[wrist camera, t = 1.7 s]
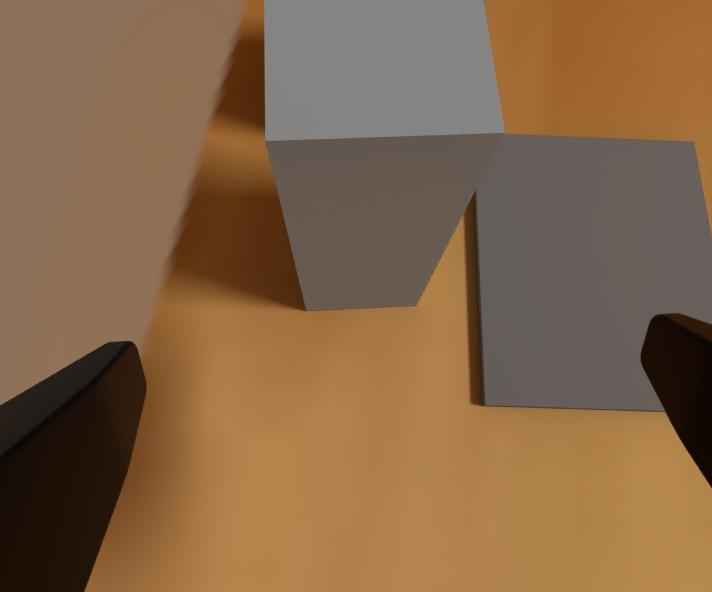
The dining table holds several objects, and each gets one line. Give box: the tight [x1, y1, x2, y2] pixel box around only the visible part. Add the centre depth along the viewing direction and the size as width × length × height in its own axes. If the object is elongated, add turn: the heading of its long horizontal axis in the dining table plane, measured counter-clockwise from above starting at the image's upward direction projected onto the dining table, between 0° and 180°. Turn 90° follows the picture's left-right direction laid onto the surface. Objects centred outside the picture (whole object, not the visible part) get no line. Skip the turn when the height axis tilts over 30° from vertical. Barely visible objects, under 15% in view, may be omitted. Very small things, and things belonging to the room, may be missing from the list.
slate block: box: [264, 0, 505, 311], centre depth 16 cm, size 4×4×12 cm
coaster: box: [474, 134, 712, 412], centre depth 22 cm, size 12×10×1 cm
